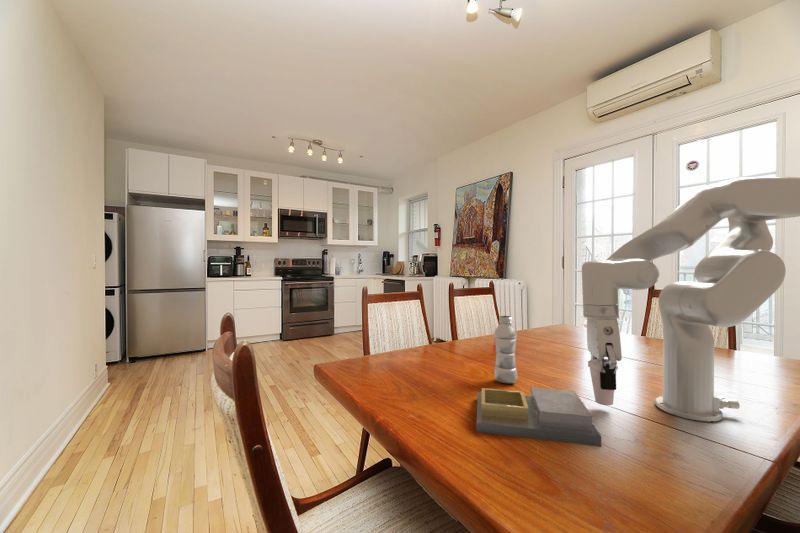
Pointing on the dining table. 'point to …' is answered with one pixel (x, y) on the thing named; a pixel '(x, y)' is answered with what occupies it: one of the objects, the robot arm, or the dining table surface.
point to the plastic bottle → (505, 351)
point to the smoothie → (600, 395)
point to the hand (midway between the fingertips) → (603, 383)
